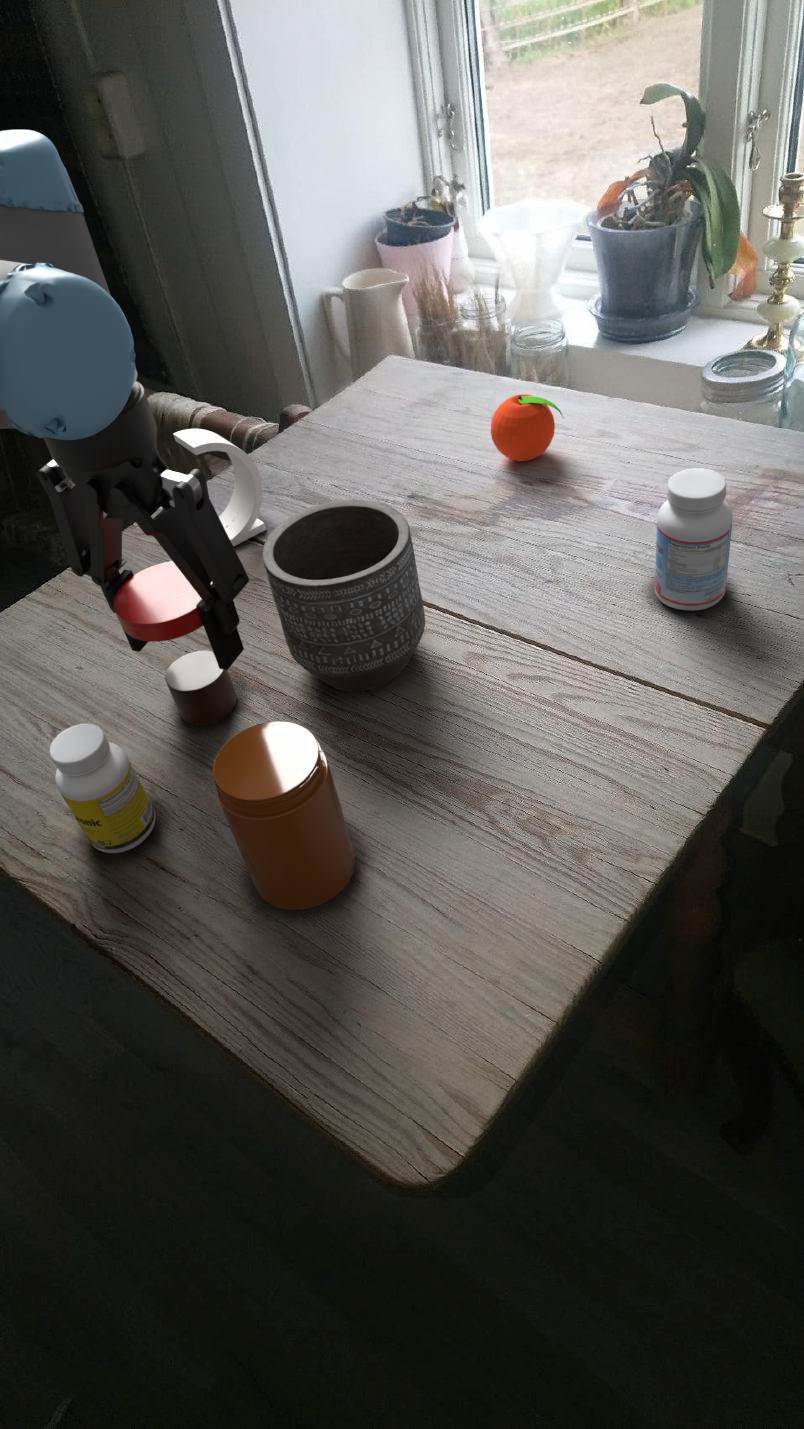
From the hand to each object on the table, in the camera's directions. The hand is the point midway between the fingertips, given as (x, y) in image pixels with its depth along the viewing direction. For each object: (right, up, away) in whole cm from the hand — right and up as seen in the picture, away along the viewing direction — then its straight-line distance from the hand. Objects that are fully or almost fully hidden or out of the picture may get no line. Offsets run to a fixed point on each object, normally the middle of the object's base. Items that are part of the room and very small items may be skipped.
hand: (187, 649), depth 81 cm
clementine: (+32, +23, +26) cm, 47 cm away
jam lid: (-1, +4, -4) cm, 6 cm away
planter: (+14, -1, +6) cm, 16 cm away
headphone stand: (0, +14, +24) cm, 28 cm away
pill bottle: (+44, +5, +6) cm, 44 cm away
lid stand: (+1, -5, +4) cm, 6 cm away
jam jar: (+11, -17, -10) cm, 22 cm away
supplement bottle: (-4, -15, -5) cm, 16 cm away
